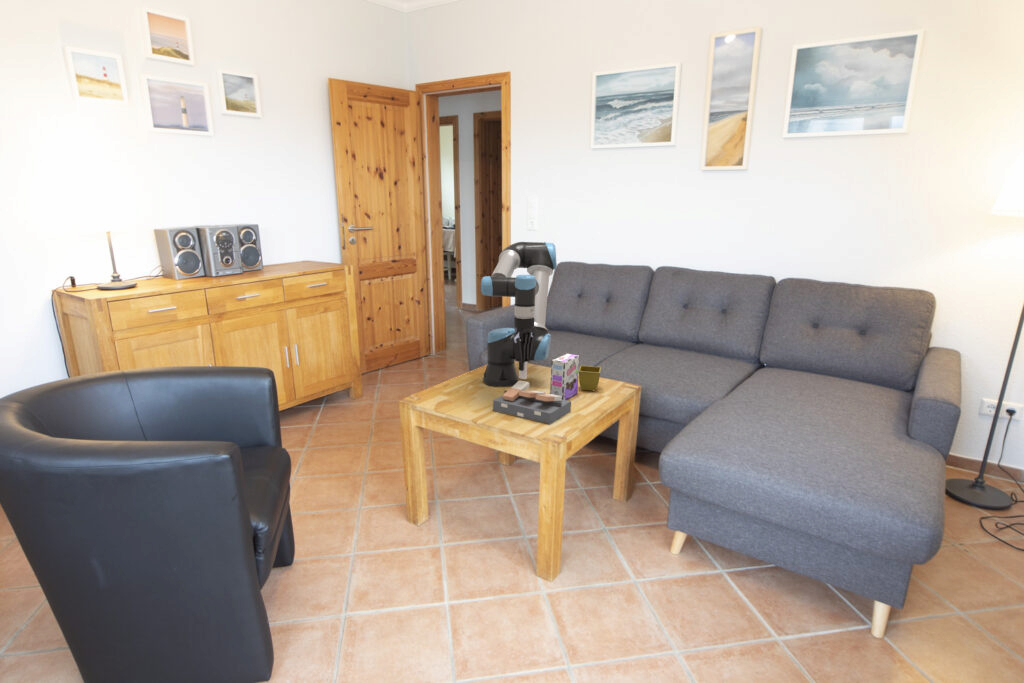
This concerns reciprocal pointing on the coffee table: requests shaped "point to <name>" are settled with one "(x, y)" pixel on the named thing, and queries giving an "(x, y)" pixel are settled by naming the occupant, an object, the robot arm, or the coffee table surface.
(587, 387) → the flower pot
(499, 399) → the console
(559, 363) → the candy box
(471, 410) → the coffee table surface
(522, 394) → the rocker middle
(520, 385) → the rocker left
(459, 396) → the coffee table surface
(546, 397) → the rocker right
